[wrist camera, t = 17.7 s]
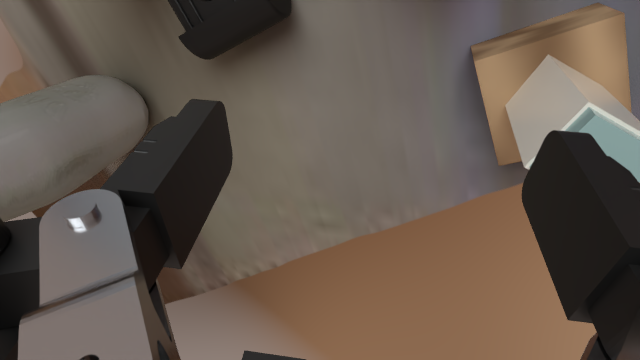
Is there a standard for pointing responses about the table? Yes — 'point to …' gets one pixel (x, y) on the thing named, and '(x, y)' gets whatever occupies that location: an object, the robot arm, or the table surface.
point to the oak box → (564, 45)
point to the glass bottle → (64, 139)
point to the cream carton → (572, 114)
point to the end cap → (225, 22)
